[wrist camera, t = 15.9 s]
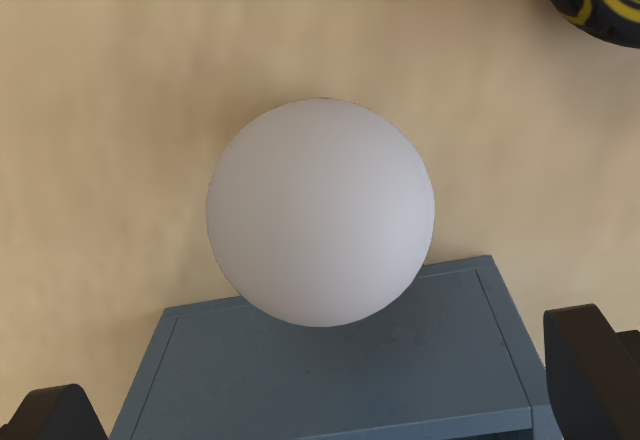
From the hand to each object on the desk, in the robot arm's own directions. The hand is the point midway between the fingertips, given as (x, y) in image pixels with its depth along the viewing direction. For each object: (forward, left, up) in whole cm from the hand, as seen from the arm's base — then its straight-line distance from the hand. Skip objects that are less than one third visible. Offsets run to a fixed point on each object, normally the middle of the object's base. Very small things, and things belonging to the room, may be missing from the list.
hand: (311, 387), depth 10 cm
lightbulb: (0, 0, -15) cm, 15 cm away
